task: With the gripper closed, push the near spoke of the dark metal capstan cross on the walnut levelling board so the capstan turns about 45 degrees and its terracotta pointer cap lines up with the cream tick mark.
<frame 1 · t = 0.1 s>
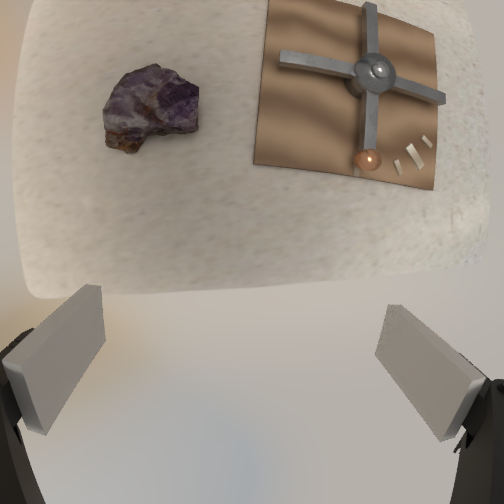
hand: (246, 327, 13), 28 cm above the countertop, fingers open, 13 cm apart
capstan: (370, 78, 32), point 5 cm above the countertop, hinge at 0.0°
rock: (156, 113, 37), on the countertop
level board: (356, 85, 37), on the countertop
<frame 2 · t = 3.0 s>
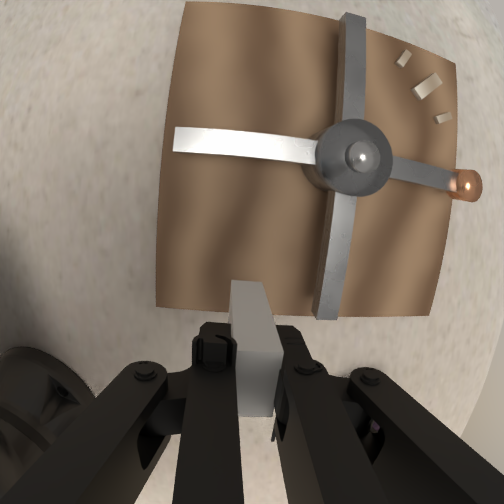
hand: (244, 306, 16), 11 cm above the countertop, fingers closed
capstan: (351, 159, 21), point 5 cm above the countertop, hinge at 0.0°
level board: (325, 161, 25), on the countertop
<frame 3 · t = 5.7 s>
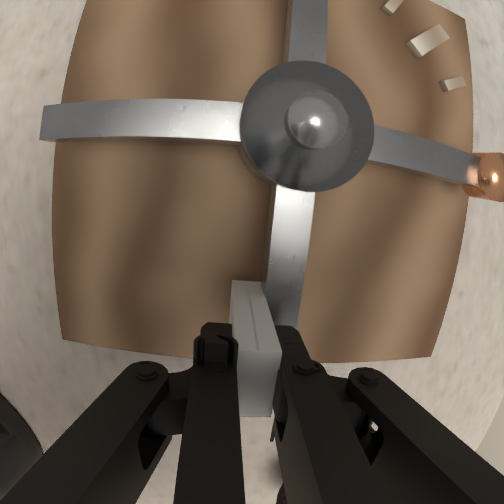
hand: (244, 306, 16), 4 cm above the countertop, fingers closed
capstan: (307, 133, 13), point 5 cm above the countertop, hinge at 0.2°, touching gripper
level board: (280, 142, 17), on the countertop
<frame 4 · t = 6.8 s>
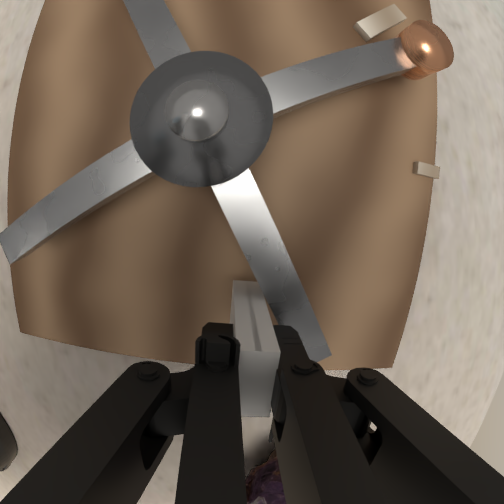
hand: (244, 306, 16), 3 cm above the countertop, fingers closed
capstan: (214, 121, 12), point 5 cm above the countertop, hinge at 30.8°, touching gripper
rock: (280, 471, 23), on the countertop
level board: (213, 139, 17), on the countertop
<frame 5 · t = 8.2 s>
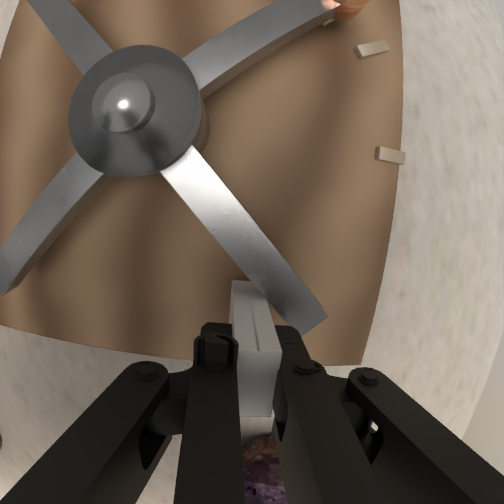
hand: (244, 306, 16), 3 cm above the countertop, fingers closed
capstan: (152, 111, 12), point 5 cm above the countertop, hinge at 43.8°, touching gripper
rock: (253, 468, 23), on the countertop
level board: (167, 132, 16), on the countertop
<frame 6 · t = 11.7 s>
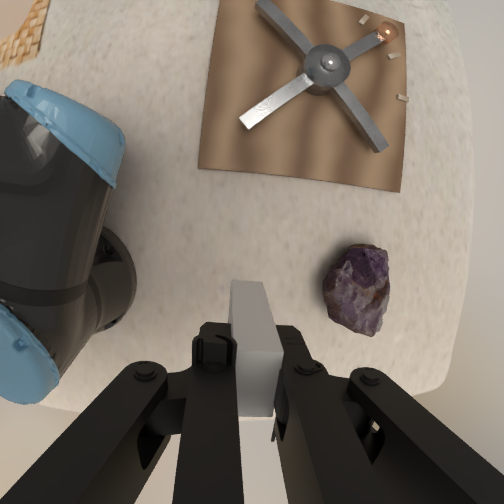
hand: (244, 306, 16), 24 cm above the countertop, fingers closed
capstan: (325, 68, 31), point 5 cm above the countertop, hinge at 43.8°
rock: (345, 281, 42), on the countertop
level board: (313, 80, 35), on the countertop
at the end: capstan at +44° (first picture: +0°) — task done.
